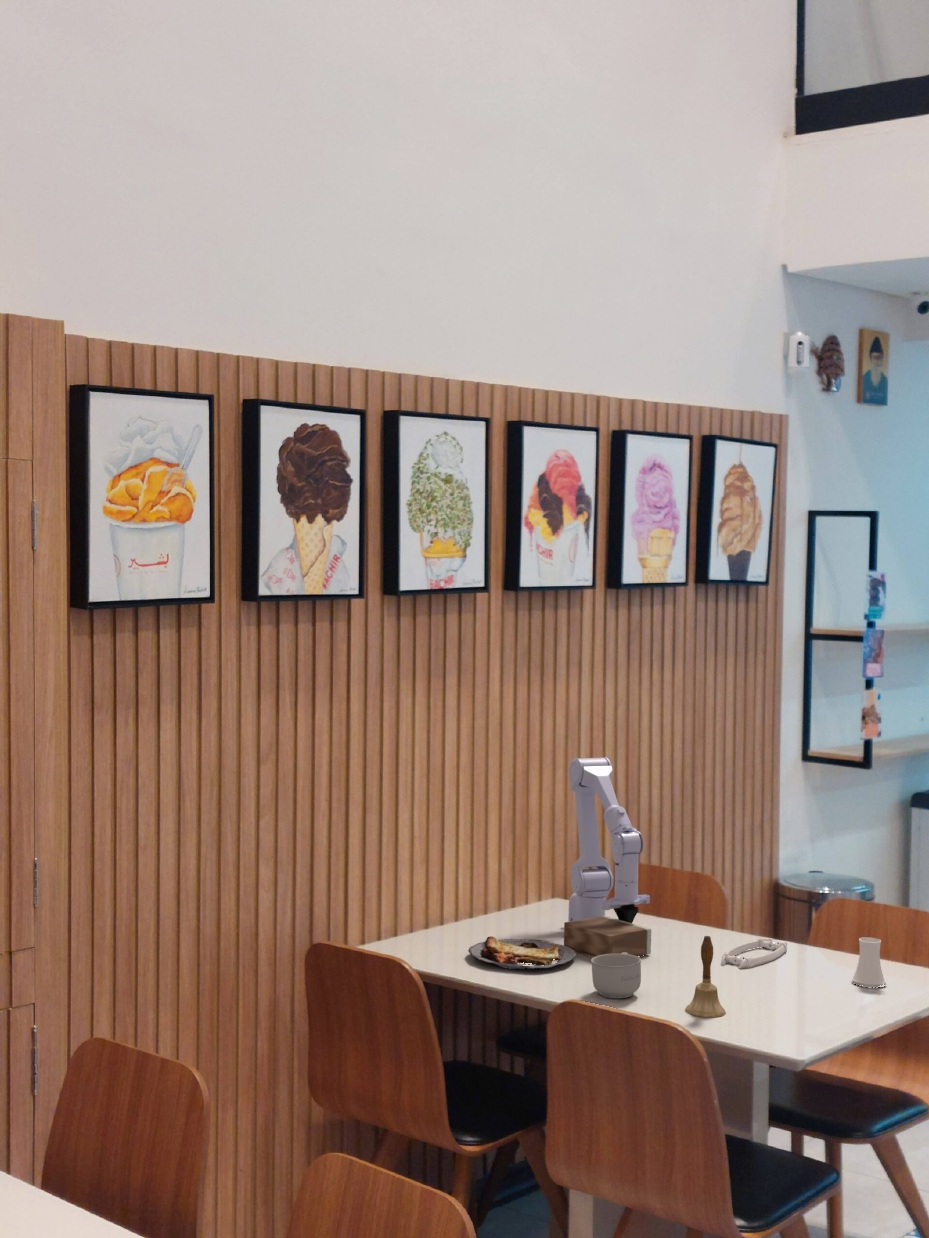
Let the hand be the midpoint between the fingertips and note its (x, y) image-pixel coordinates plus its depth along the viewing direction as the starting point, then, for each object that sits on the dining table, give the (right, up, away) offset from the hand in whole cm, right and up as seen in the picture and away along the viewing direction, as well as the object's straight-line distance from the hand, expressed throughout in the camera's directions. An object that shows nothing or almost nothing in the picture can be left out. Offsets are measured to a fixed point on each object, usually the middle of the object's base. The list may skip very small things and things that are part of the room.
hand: (625, 935), depth 353 cm
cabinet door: (0, -2, -2) cm, 3 cm away
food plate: (-26, -3, -14) cm, 30 cm away
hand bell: (+11, -5, -53) cm, 54 cm away
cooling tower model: (+52, -5, -29) cm, 60 cm away
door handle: (+30, -4, -8) cm, 32 cm away
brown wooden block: (-6, -3, -7) cm, 9 cm away
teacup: (-6, -4, -41) cm, 41 cm away
